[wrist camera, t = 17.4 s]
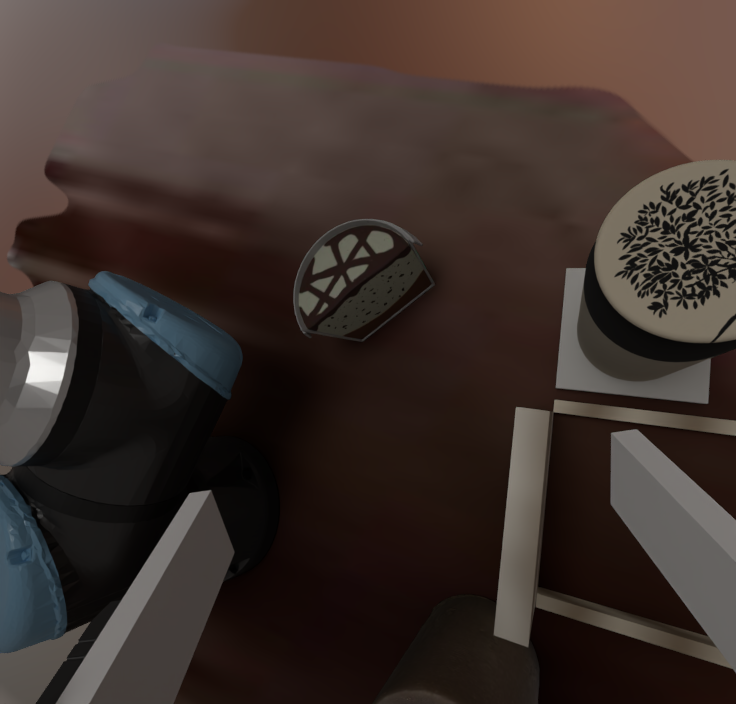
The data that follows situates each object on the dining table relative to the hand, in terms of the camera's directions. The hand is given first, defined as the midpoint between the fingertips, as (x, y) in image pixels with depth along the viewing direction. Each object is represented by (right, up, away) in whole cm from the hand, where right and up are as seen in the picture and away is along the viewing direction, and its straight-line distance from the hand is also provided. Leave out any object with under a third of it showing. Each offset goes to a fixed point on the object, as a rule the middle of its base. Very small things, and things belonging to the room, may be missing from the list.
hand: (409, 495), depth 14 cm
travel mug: (+19, +6, +19) cm, 28 cm away
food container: (0, +11, +30) cm, 32 cm away
